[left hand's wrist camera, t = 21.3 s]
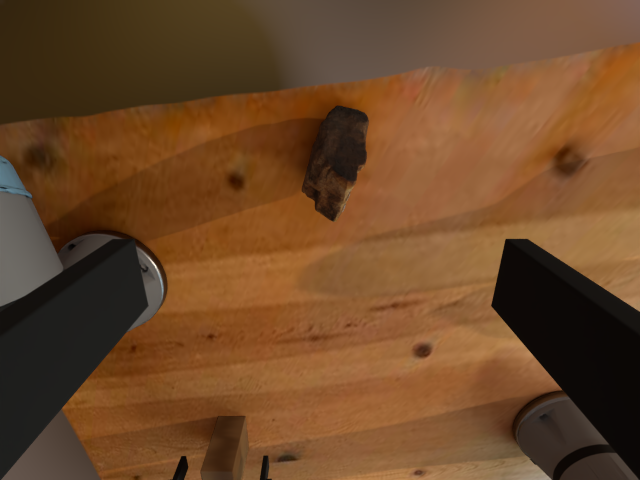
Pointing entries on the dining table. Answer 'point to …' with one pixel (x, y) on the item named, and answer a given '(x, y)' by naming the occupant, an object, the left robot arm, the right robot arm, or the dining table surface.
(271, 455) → the dining table surface
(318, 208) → the decorative rock
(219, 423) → the brick
